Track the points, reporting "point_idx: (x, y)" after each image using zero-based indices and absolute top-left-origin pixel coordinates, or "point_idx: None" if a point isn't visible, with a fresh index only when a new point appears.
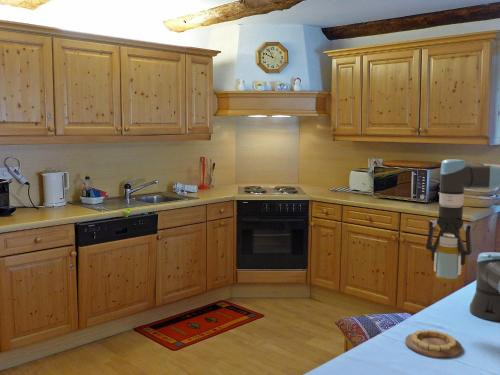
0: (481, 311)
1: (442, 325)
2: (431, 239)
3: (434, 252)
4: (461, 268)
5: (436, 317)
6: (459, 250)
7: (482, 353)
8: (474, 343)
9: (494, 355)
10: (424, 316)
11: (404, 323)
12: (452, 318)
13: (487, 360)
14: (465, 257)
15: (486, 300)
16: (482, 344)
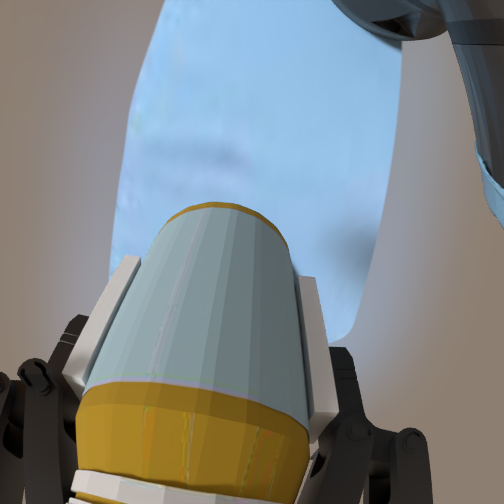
0: (367, 21)
1: (233, 139)
2: (16, 488)
3: (78, 401)
4: (319, 304)
5: (204, 72)
6: (306, 465)
7: (339, 284)
8: (328, 238)
9: (363, 283)
10: (163, 84)
11: (124, 178)
12: (260, 56)
13: (343, 309)
14: (360, 402)
15: (399, 10)
16: (347, 237)
